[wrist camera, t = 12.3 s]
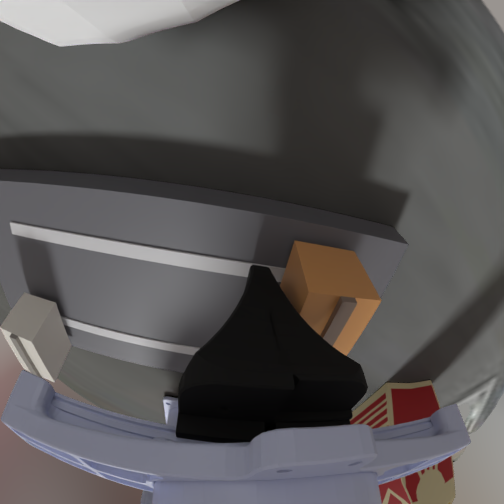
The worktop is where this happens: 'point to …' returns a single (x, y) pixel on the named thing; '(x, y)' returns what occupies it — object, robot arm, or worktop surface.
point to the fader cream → (37, 336)
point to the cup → (102, 18)
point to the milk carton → (402, 411)
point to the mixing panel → (158, 256)
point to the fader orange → (330, 292)
